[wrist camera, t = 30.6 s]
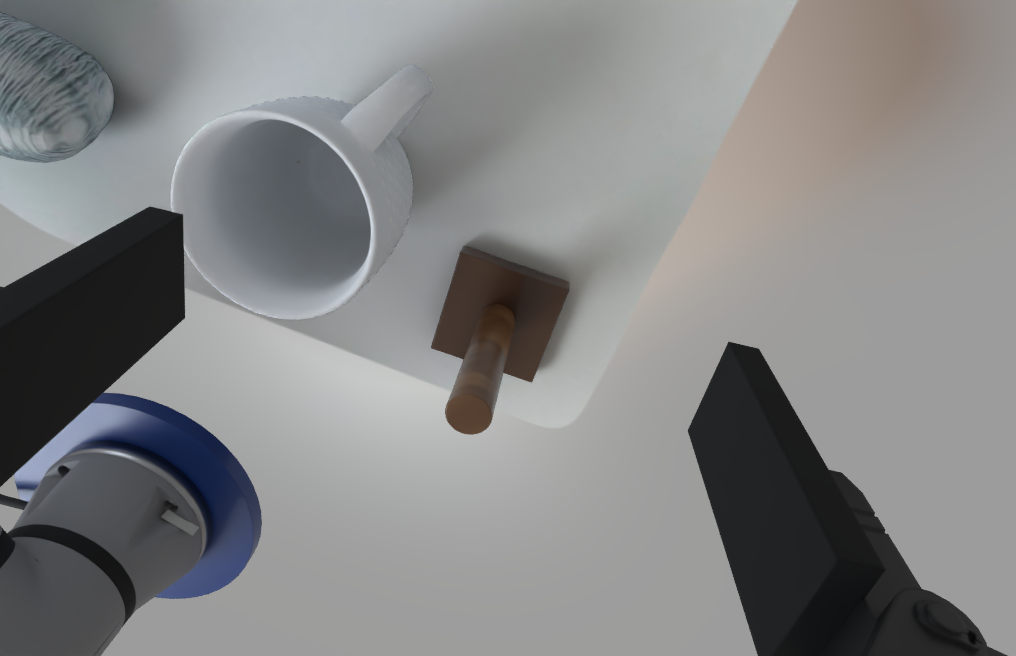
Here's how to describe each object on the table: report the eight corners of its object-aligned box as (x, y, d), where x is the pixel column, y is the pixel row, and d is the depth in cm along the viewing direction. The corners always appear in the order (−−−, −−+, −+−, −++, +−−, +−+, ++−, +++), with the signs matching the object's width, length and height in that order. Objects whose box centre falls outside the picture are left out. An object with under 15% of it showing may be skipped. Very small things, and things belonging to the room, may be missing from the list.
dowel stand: (434, 339, 49) (382, 447, 36) (463, 245, 45) (416, 328, 33) (533, 373, 49) (514, 492, 37) (569, 282, 46) (563, 379, 33)
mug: (380, -2, 39) (292, -15, 28) (508, 129, 42) (476, 170, 30) (249, 169, 45) (128, 220, 33) (368, 277, 47) (295, 359, 36)
